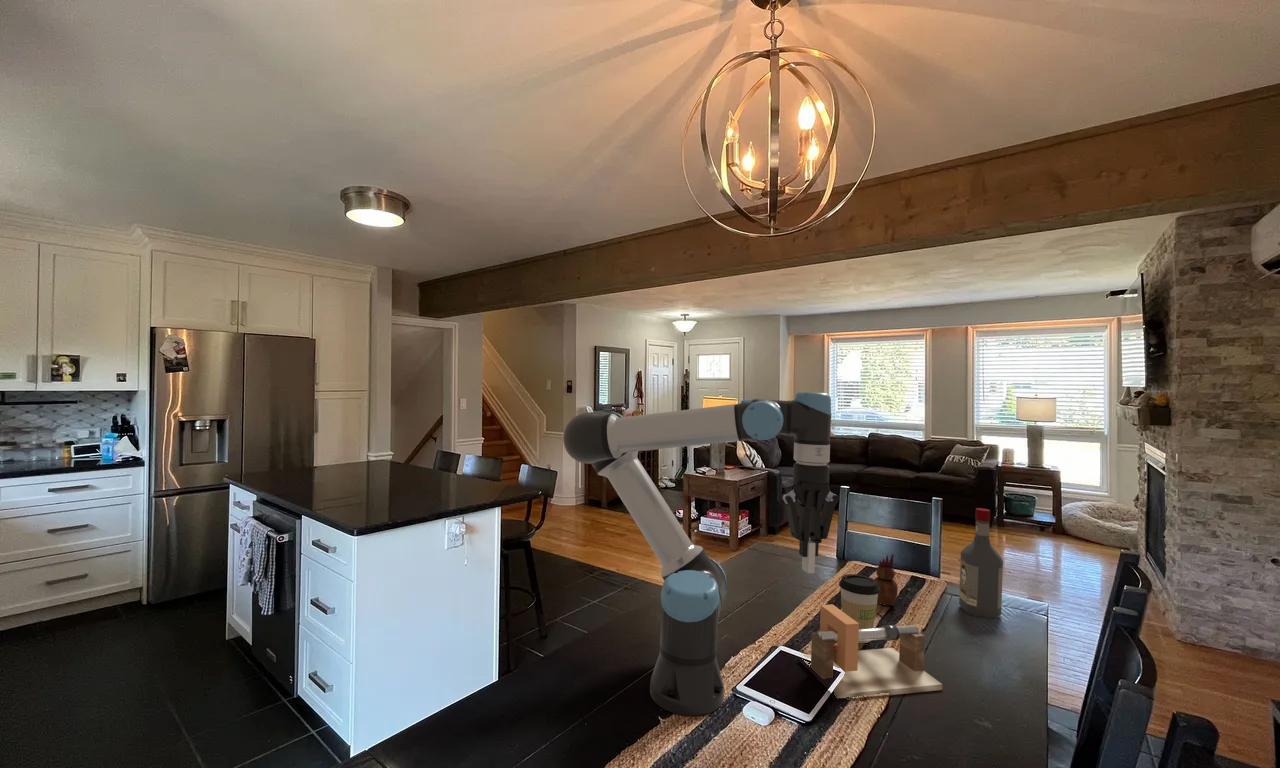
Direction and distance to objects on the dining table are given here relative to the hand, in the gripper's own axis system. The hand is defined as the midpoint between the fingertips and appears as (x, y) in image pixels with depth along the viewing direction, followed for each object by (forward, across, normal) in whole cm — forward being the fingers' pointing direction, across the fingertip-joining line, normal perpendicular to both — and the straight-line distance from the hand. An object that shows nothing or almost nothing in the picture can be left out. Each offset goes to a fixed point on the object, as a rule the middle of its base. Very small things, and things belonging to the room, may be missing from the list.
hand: (808, 571), depth 117 cm
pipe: (+17, +15, 0) cm, 23 cm away
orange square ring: (+20, +8, 0) cm, 21 cm away
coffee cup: (+24, +24, +16) cm, 38 cm away
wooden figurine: (+24, +46, +35) cm, 63 cm away
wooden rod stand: (+24, +15, 0) cm, 28 cm away
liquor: (+24, +71, +26) cm, 79 cm away
